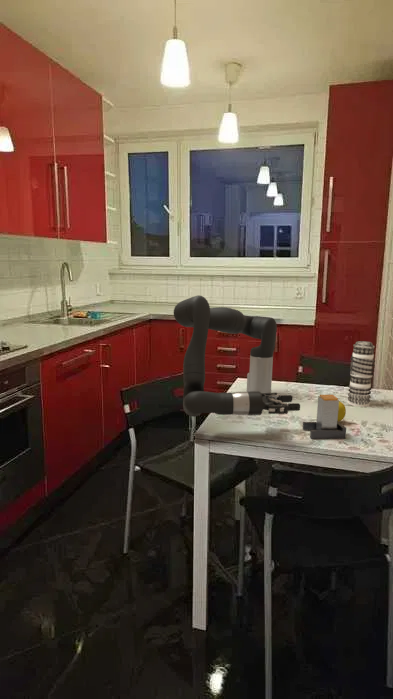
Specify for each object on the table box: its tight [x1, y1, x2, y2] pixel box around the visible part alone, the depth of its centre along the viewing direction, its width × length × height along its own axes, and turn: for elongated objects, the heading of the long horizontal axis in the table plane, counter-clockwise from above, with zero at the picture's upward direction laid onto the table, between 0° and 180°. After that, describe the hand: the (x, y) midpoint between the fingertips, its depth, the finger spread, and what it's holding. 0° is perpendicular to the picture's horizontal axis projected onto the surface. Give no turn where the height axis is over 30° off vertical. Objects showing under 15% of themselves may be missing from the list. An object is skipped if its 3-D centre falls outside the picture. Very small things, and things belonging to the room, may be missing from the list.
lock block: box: [315, 394, 340, 430], centre depth 147 cm, size 5×5×13 cm
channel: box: [301, 420, 347, 440], centre depth 148 cm, size 11×9×4 cm
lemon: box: [337, 400, 347, 422], centre depth 159 cm, size 6×6×8 cm
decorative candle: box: [347, 340, 376, 408], centre depth 180 cm, size 9×9×25 cm
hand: (295, 402), depth 146 cm, fingers open, 8 cm apart
